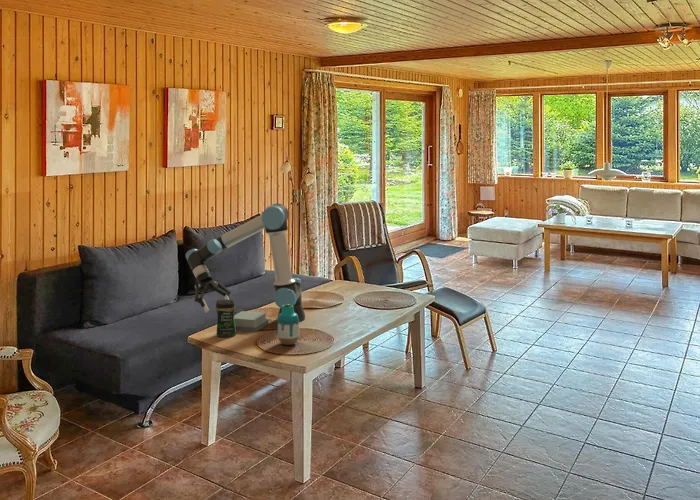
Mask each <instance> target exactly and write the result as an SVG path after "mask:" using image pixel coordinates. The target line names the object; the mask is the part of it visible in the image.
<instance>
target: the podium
mask: <svg viewBox="0 0 700 500" xmlns="http://www.w3.org/2000/svg"><path fill="white" fill-rule="evenodd" d="M266 318H267V316H266V312H257V311H256V312H255V311H245V310H241V311H240V312H238V313H236V314H234V320H235V328H236V331H241V332H251V333H252V332H253V333H255V332H258V331H259V330H261V329H262V328H264V327H265V326H267V325H268V324H269V319H266ZM267 323H268V324H267ZM266 324H267V325H266ZM263 326H264V327H263Z"/></svg>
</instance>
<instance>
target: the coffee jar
mask: <svg viewBox="0 0 700 500" xmlns="http://www.w3.org/2000/svg"><path fill="white" fill-rule="evenodd" d="M230 299H231V298H230ZM215 310H216V313H217V319H216V320H217V321H216V336H217V337H219V338H229V337H231V338H232V337H234V336H236V335H237V330H236V328H235V320H234V315H235V310H236V305H235V300H234V299H231V300H225V299H218V300H216V304H215Z"/></svg>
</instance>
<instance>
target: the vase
mask: <svg viewBox="0 0 700 500" xmlns="http://www.w3.org/2000/svg"><path fill="white" fill-rule="evenodd" d="M276 324H277V325H276V329H277V331H276V332H277V338H278V341H279V343H281V344H282V345H285V346H290V345H294V344H296V343H297V342H298V341H299V338H300V321H299V318H298V315H297V313H295V312H294V309H293V305H290V304H287V305H283V306H282V313H280V314H279V315H278V314H277V320H276Z"/></svg>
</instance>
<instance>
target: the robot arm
mask: <svg viewBox="0 0 700 500" xmlns="http://www.w3.org/2000/svg"><path fill="white" fill-rule="evenodd" d="M289 217H290V213H289V210H288V208H287V207H286V205H284V204H283V203H277V202H276V203H273V204H271V205H269V206H267V207H266V208H265V209H264V210H263V211H262V212H261V214H259V215H258V216H257V217H255V218H253V219H250V220H249V221H246V222H244V223H243V224H241V225H239V226H236V227H235V228H234V229H231V230H229V231H227V232H225V233H223V234H222V235H220V236H218V237H216V238H212V239H210V240H209V241H208V242H206V243H205V244H203V246H201V247H200V248H199V249H198V248H192V249H190V250H189V249H188V250H187V252H186V253H185V260H187V263H188V265H189V267H190V269H191V271H192V273H193V275H194V277H195V278H196V279H195V280H196V281H197V283H196V284H195V285H194V286H193V287H194V290H195V291H194V302H195V303H196V302H197V303H198V304H199V305H200V306H201V308H203V310H204V312H205V313H206V314H208V313H209V311H210V308H209V306H208V304H207V302H206V301H205V299H204V296H205V292H210V291H211V292H215V293H216V292H217V293H218V294H219V295H221V296H223V297H224V298H223V300H231V297H230V295H231V293H232V292H231V290H230V289H229V288H228V287H226V286H225V285H224V284H222V282H220V280H219V279H217V280H216V281H214V280H213V277H212V274H211V272H210V271H209V268H208V267H207V265H206V263H207V262H208V261H209V260H210V259H212V258H213V257H215V256H216V255H218V254H219V253H221V252H222V251H225V250H227V249H228V248H230V247H233V246H234V245H236V244H238V243H240V242H243V241H244V240H246V239H248V238H250V237H252V236H254V235H256V234H258V233H260V232H261V231H263V230H265V233H266V234H267V235H268V236H269V237H268V238H269V243H270V244H269V245H270V251H271V255H272V256H271V257H272V263H273V270H274V277H275V281H274V282H273V290H274V294H273V301H274V303H275V305H276V306H277V307H278V308H279V309H278V313H277V316H278V315H279V314H280V313H282V306H283V305H287V304H290V305H293V309H294V312H295V313H297V315H298V318H299V322H303V321H304V320H305V319H306V314H305V311H304V308H303V301H302V299H303V298H302V279H301V278H299V277H293V275H292V269H291V268H292V267H291V262H290V255H289V249H288V242H287V241H288V240H287V234H286V233H287V232H288V230H289V227H288V219H289ZM200 289H202V290H201V292H200Z"/></svg>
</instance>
